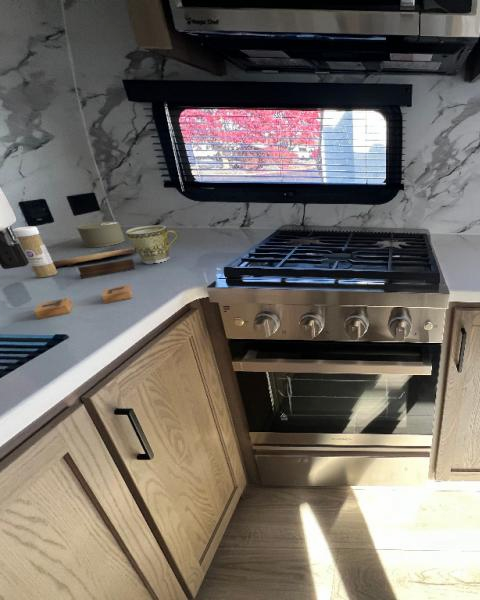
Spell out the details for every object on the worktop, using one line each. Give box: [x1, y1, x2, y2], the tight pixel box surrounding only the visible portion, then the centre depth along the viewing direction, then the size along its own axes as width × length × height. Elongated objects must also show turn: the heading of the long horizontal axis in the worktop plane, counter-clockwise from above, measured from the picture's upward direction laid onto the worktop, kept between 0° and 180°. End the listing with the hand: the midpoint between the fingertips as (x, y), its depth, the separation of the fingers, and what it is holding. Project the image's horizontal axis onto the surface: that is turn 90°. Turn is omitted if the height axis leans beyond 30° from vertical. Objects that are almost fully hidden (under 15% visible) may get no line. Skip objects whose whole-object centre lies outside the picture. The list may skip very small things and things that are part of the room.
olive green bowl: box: [75, 220, 126, 249], centre depth 121 cm, size 12×12×7 cm
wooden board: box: [52, 247, 137, 268], centre depth 105 cm, size 25×10×1 cm, turn 128°
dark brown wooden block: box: [77, 258, 136, 279], centre depth 94 cm, size 12×3×3 cm, turn 126°
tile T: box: [34, 297, 74, 320], centre depth 73 cm, size 5×5×2 cm
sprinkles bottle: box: [12, 225, 59, 278], centre depth 90 cm, size 5×5×13 cm
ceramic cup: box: [125, 224, 178, 265], centre depth 101 cm, size 13×10×10 cm
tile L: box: [101, 284, 133, 304], centre depth 79 cm, size 5×5×2 cm
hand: (16, 266), depth 61 cm, fingers closed
